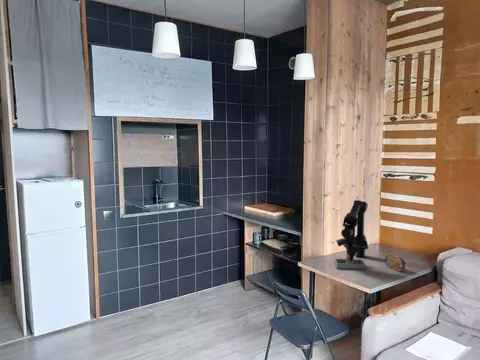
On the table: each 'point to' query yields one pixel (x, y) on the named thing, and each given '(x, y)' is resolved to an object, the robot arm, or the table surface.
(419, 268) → the table surface
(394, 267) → the tin
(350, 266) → the bin
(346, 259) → the block
